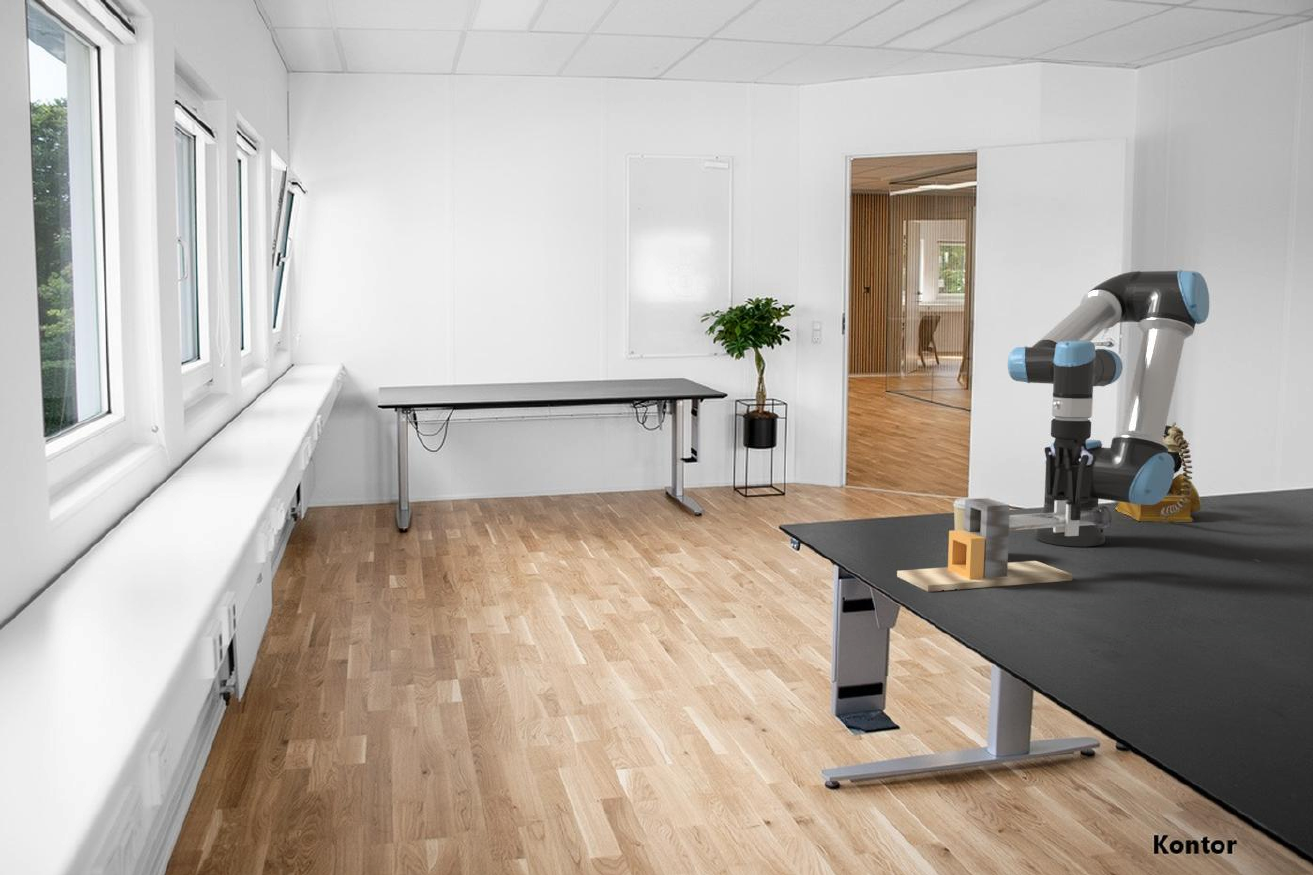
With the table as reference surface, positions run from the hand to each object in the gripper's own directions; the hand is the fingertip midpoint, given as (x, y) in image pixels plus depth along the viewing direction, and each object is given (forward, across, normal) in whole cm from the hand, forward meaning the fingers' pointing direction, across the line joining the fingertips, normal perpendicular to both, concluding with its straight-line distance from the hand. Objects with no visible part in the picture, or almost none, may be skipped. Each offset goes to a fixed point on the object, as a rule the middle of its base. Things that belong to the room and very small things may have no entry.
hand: (1065, 533), depth 225 cm
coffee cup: (+8, -18, -9) cm, 22 cm away
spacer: (+7, 0, -23) cm, 24 cm away
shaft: (-1, 0, -5) cm, 5 cm away
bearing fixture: (+8, 0, -18) cm, 20 cm away
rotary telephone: (+8, -40, +60) cm, 73 cm away
